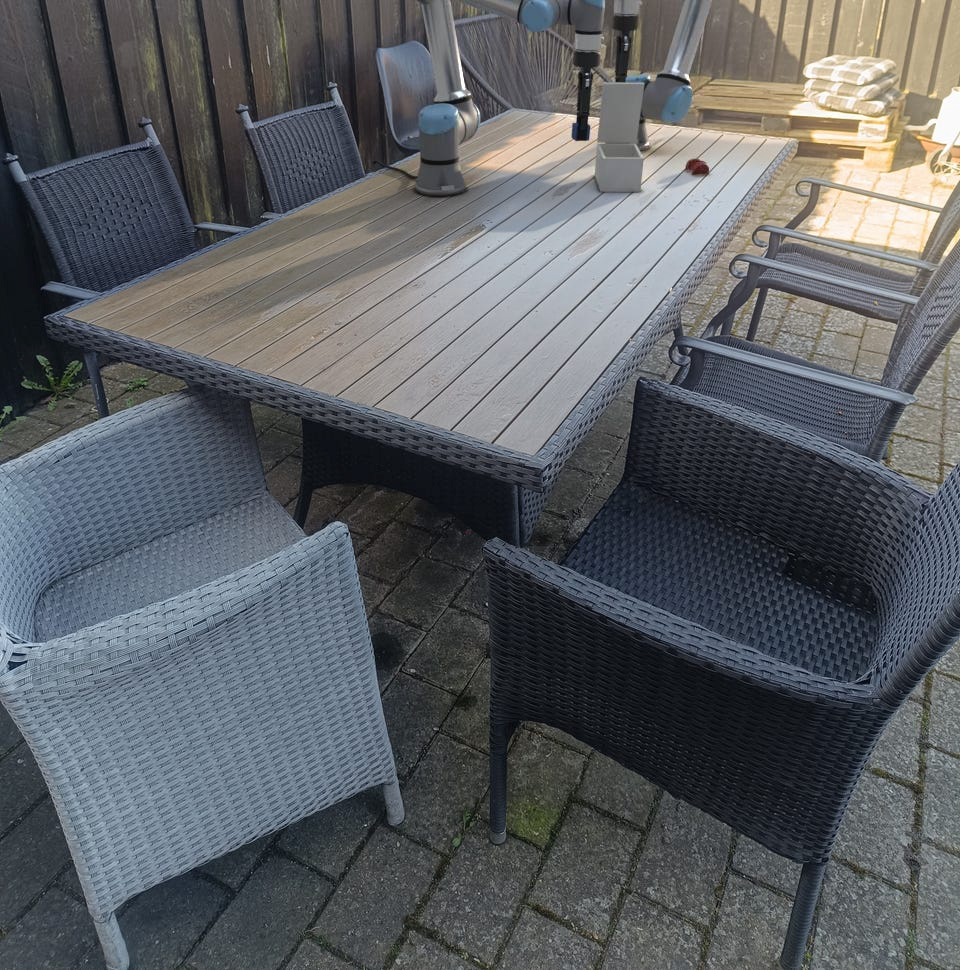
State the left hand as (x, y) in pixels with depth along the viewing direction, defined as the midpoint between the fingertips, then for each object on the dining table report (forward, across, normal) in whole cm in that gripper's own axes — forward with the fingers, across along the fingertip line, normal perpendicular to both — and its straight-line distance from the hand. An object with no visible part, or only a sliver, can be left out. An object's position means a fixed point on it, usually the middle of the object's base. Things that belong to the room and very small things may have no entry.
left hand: (580, 138), depth 248 cm
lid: (-4, +14, -13) cm, 20 cm away
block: (0, 0, 0) cm, 0 cm away
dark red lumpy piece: (+15, +21, -41) cm, 48 cm away
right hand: (-6, +21, -13) cm, 26 cm away
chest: (+15, +8, -13) cm, 22 cm away
